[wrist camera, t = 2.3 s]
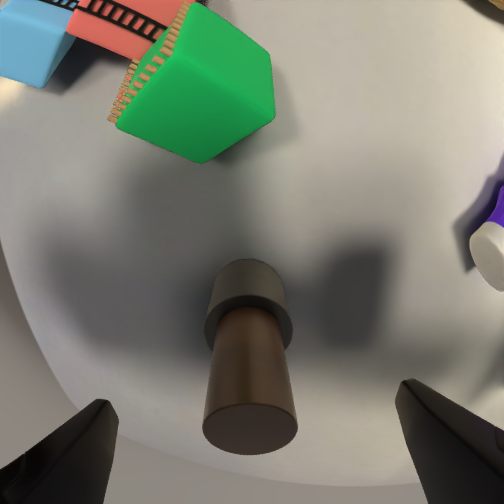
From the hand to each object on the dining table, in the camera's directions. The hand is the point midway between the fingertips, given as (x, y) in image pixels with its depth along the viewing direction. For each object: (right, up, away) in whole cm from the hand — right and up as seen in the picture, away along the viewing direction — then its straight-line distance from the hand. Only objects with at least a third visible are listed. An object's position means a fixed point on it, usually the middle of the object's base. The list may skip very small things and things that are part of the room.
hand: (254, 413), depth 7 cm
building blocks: (-6, +14, +4) cm, 16 cm away
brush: (0, +3, +8) cm, 8 cm away
